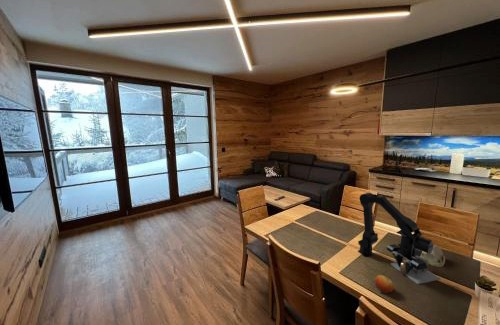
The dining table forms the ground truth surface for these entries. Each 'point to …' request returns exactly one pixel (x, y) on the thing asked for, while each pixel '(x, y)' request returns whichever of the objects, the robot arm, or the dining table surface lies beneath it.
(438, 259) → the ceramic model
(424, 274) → the barrel bolt latch
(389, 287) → the fruit
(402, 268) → the metal knob rod
